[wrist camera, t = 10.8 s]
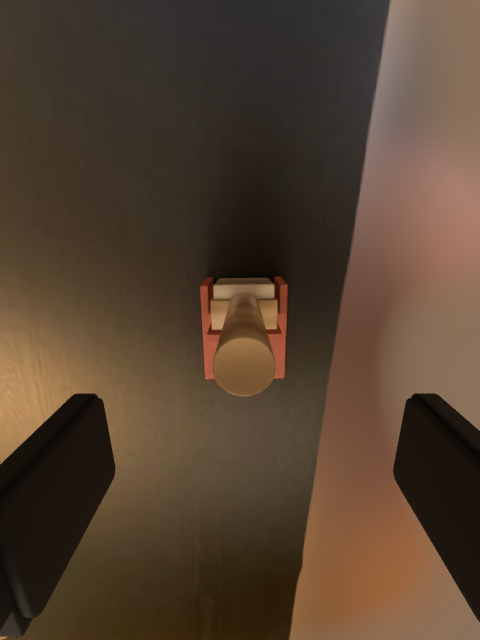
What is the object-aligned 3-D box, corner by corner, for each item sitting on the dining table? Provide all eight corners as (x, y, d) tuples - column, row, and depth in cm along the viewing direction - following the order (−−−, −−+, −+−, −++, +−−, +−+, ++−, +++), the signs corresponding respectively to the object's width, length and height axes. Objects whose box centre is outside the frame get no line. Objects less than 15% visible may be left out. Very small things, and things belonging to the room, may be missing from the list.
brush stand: (200, 277, 26) (186, 291, 20) (287, 276, 26) (301, 290, 20) (205, 376, 29) (195, 416, 23) (283, 375, 29) (294, 415, 23)
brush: (170, 321, 9) (177, 411, 9) (317, 320, 8) (312, 410, 9) (216, 278, 23) (218, 313, 24) (270, 277, 23) (270, 313, 24)
